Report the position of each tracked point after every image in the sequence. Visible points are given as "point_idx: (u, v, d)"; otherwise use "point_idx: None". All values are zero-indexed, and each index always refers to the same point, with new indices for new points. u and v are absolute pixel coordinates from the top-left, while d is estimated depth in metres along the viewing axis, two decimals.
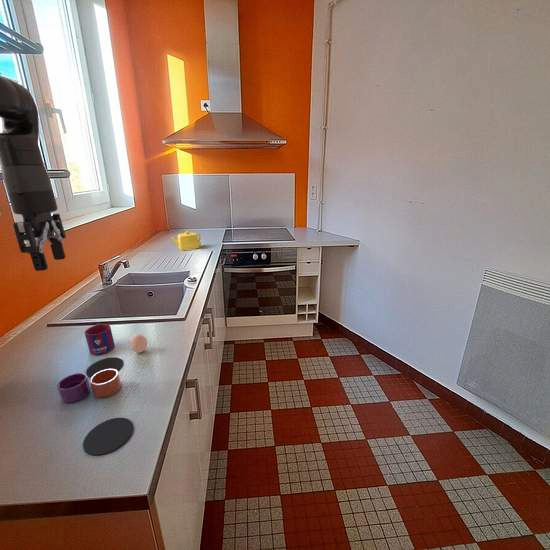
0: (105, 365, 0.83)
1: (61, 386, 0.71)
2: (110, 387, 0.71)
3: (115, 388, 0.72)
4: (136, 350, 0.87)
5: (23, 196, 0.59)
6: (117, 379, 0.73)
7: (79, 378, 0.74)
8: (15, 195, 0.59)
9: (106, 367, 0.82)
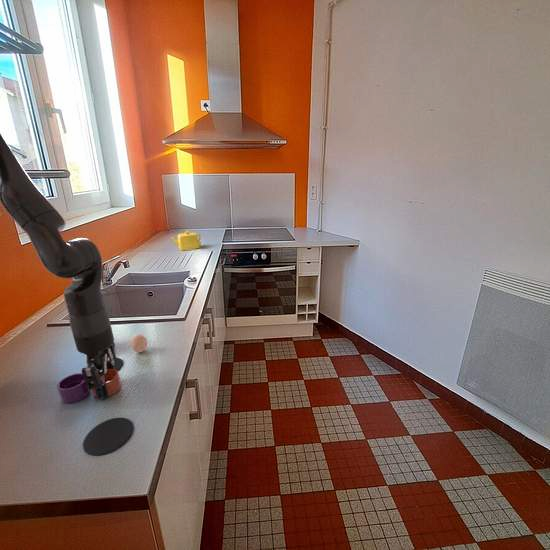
0: None
1: (61, 386, 0.71)
2: (110, 387, 0.71)
3: (115, 388, 0.72)
4: (136, 350, 0.87)
5: (88, 340, 0.65)
6: (117, 379, 0.73)
7: (79, 378, 0.74)
8: (81, 340, 0.65)
9: None
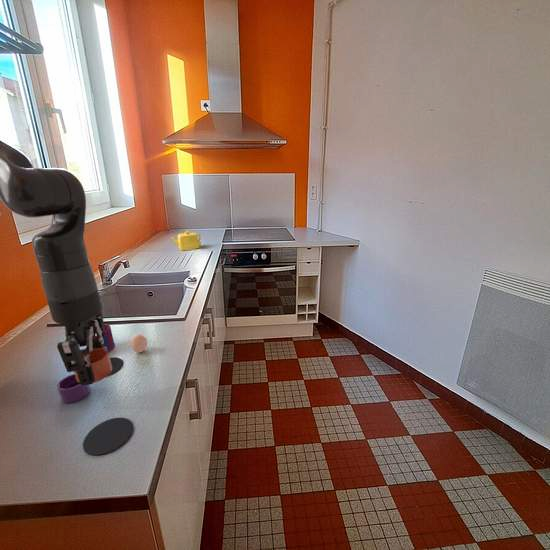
0: None
1: (61, 386, 0.71)
2: (97, 370, 0.55)
3: (104, 372, 0.56)
4: (136, 350, 0.87)
5: (66, 305, 0.49)
6: (107, 360, 0.57)
7: None
8: (57, 305, 0.49)
9: None
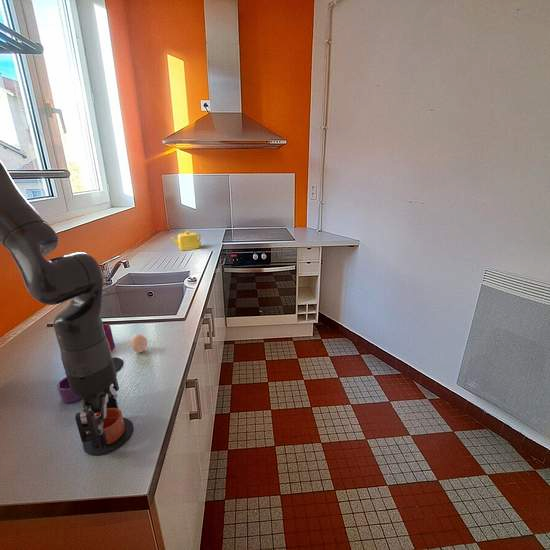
0: None
1: (61, 386, 0.71)
2: (111, 433, 0.58)
3: (118, 433, 0.59)
4: (136, 350, 0.87)
5: (84, 380, 0.52)
6: (121, 422, 0.60)
7: None
8: (76, 380, 0.52)
9: None
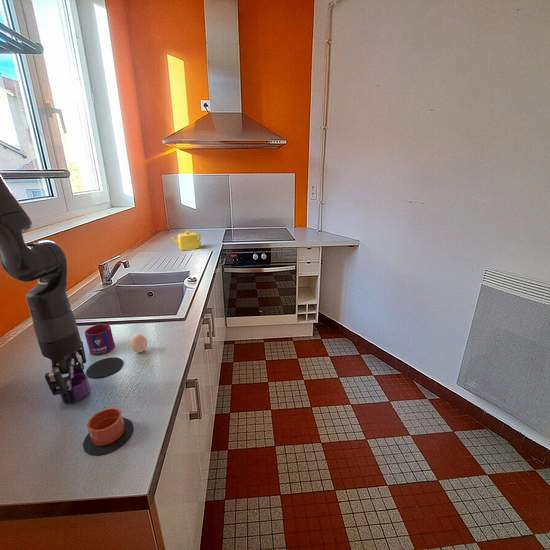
0: (105, 365, 0.83)
1: None
2: (111, 433, 0.58)
3: (118, 433, 0.59)
4: (136, 350, 0.87)
5: (52, 344, 0.64)
6: (121, 422, 0.60)
7: (79, 378, 0.74)
8: (45, 344, 0.64)
9: (106, 367, 0.82)
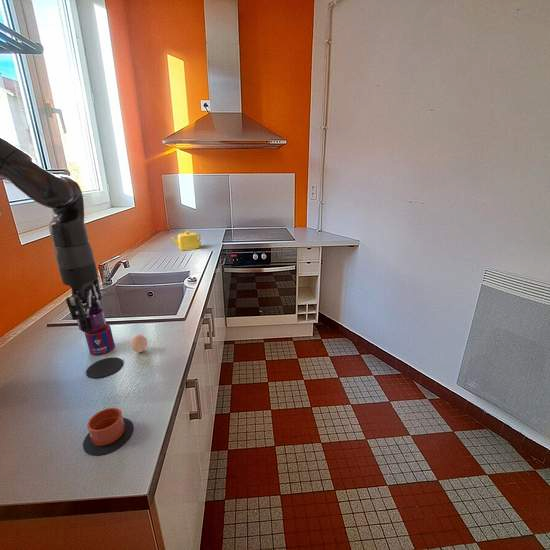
0: (105, 365, 0.83)
1: None
2: (111, 433, 0.58)
3: (118, 433, 0.59)
4: (136, 350, 0.87)
5: (72, 271, 0.69)
6: (121, 422, 0.60)
7: (95, 312, 0.79)
8: (66, 271, 0.69)
9: (106, 367, 0.82)
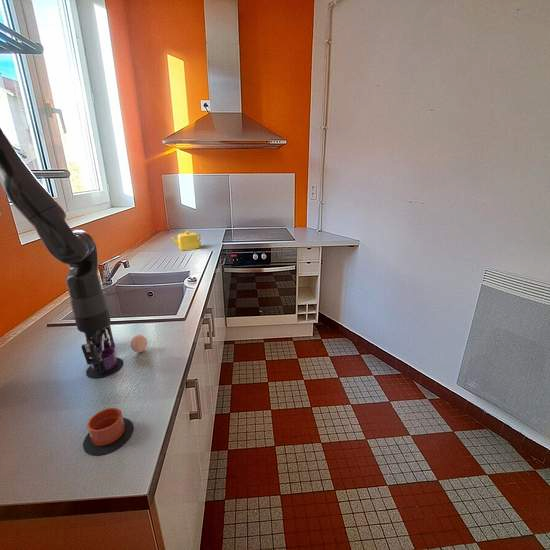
0: None
1: None
2: (111, 433, 0.58)
3: (118, 433, 0.59)
4: (136, 350, 0.87)
5: (87, 320, 0.74)
6: (121, 422, 0.60)
7: (107, 352, 0.84)
8: (81, 320, 0.74)
9: None
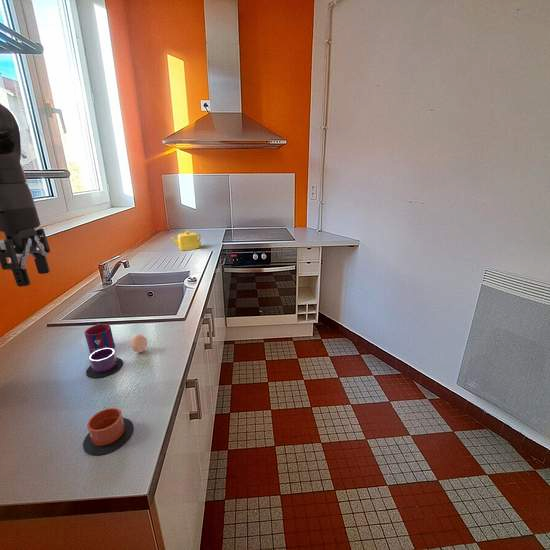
0: None
1: (92, 358, 0.81)
2: (111, 433, 0.58)
3: (118, 433, 0.59)
4: (136, 350, 0.87)
5: (4, 214, 0.60)
6: (121, 422, 0.60)
7: (107, 352, 0.84)
8: None
9: None
